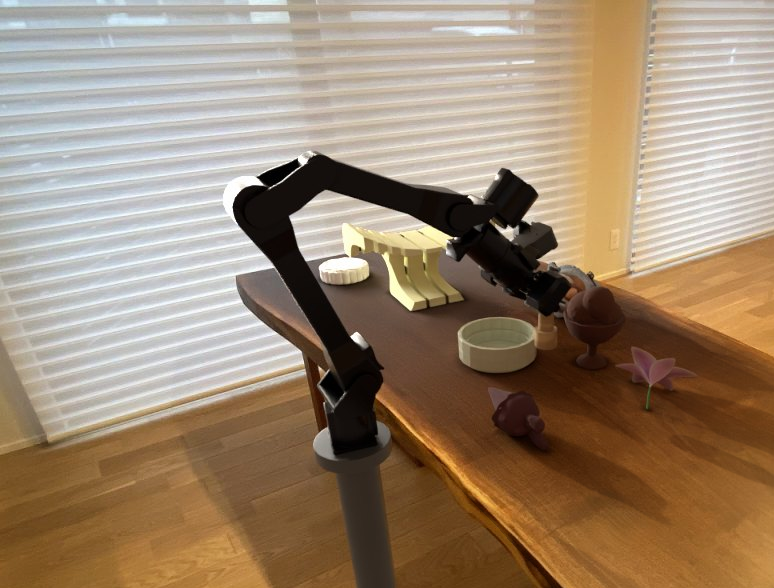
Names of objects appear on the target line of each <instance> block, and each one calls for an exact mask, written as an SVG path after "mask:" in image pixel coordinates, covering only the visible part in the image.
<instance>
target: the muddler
mask: <svg viewBox="0 0 774 588" xmlns="http://www.w3.org/2000/svg"><path fill="white" fill-rule="evenodd" d="M537 313H538V312H537ZM537 318H538V319H537V322H538V323H537V325H536V326H534V328H535V340H534V345H535V347H536V348H537V349H539V350H544V351H548V350H550V351H551V350H553V349H555V348H557V346H558V327H557V326H556V325H555V315H554V312H553V313H552V314H551V315H550V316H548V317H545V316H543V315H541V314H540V313H538V317H537Z"/></svg>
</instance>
